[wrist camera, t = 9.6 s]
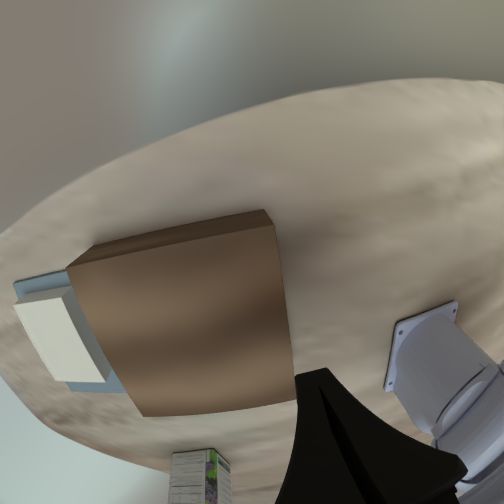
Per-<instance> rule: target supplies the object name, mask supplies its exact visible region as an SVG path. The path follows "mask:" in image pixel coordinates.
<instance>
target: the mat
mask: <svg viewBox="0 0 504 504" xmlns="http://www.w3.org/2000/svg"><path fill="white" fill-rule="evenodd" d="M13 286H14V289H15V291H16V293H17V296H18V298H19V299H20V298H22V297H23V296H24V295H25V294H28V293H33V292H39V291H44V290H50V289H55V288H60V287H66V286H71V282H70V279H69V277H68V274H67V271H66V270H63V271H59V272H55V273H50V274H46V275H42V276H38V277H34V278H29V279H25V280H21V281H17V282H14V283H13ZM65 383H66V384H67V385H68V387H69V388H70V390H71V391H75V392H99V393H127V392H126V390H125V389H124V387H123V385H122V384H121V382H120V381H119V379H118V377H117V376H116V374H115V372H114V371H113V369H111V372H110V374H109V376H108V379H107V381H106V382H68V381H65Z"/></svg>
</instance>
